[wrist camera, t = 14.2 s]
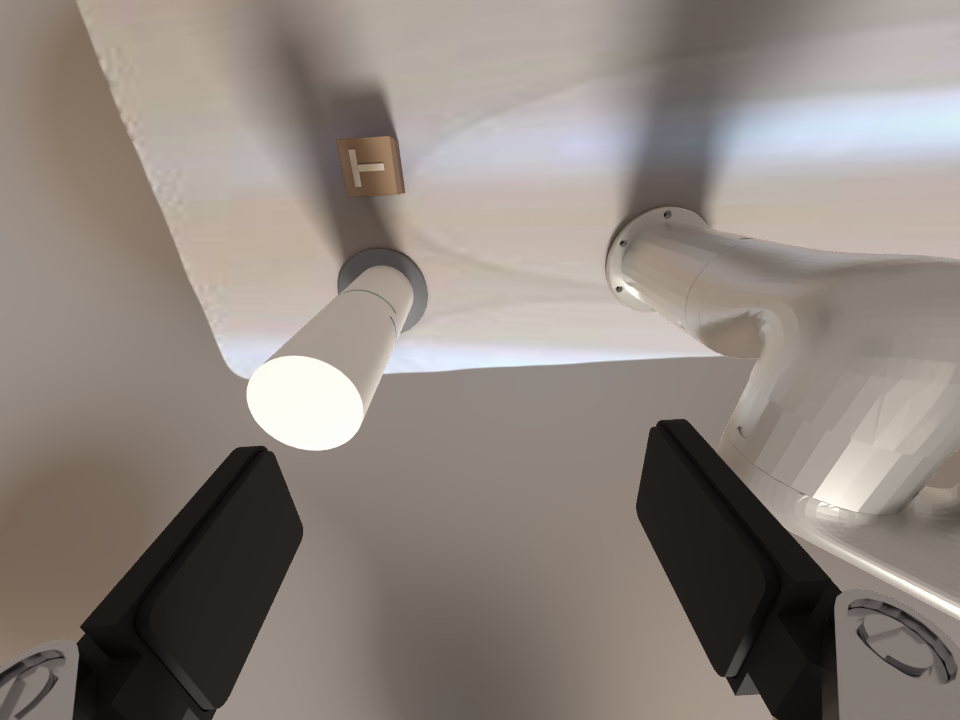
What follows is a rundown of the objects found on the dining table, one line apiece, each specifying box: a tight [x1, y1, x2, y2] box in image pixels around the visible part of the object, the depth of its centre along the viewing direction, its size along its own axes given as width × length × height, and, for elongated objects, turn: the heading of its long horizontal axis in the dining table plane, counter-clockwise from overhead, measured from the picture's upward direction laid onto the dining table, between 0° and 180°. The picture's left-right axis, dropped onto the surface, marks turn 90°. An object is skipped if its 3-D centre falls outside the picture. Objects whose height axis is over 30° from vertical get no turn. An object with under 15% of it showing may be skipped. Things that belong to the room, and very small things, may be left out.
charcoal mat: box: [338, 248, 428, 333], centre depth 46 cm, size 11×11×1 cm
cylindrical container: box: [247, 265, 413, 450], centre depth 34 cm, size 7×7×25 cm
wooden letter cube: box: [336, 136, 405, 198], centre depth 38 cm, size 5×5×5 cm
